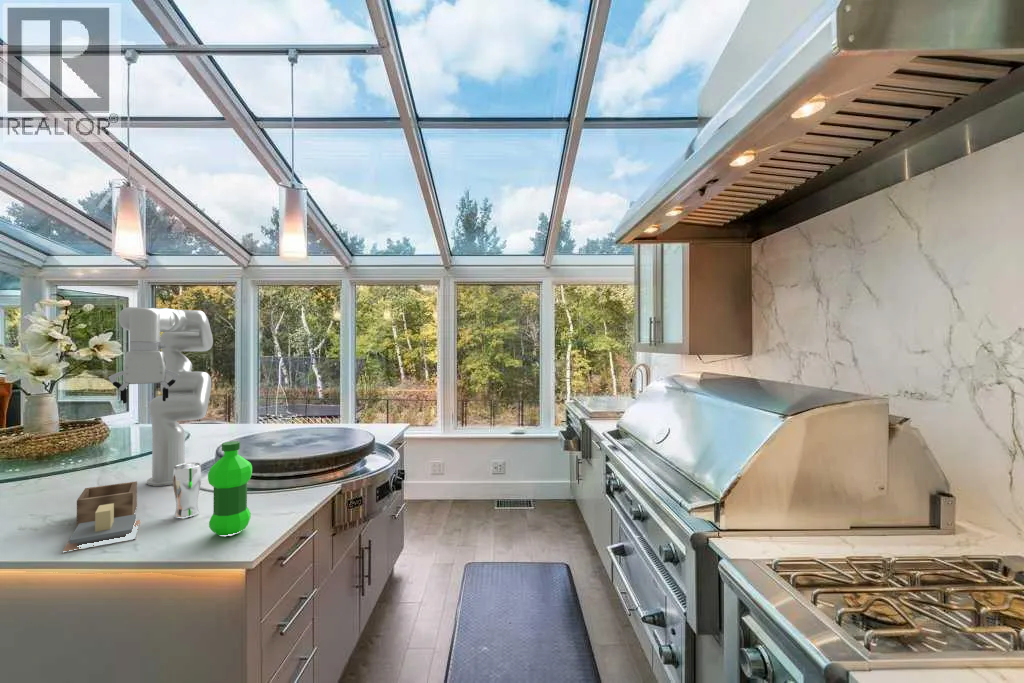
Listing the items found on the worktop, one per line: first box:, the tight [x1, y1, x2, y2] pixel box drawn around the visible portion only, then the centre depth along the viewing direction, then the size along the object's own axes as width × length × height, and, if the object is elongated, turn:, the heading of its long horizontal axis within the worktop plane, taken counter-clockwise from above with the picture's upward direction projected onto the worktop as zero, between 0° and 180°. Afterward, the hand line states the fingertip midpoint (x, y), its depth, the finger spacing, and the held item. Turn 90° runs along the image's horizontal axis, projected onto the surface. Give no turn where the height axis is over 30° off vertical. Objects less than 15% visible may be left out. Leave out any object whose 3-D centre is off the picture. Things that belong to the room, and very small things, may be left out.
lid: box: [68, 503, 137, 546], centre depth 123 cm, size 12×12×7 cm
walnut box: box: [76, 480, 138, 527], centre depth 135 cm, size 12×12×8 cm
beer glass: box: [172, 462, 202, 518], centre depth 138 cm, size 7×7×15 cm
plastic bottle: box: [207, 440, 253, 536], centre depth 126 cm, size 10×10×25 cm
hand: (145, 401), depth 144 cm, fingers open, 9 cm apart
